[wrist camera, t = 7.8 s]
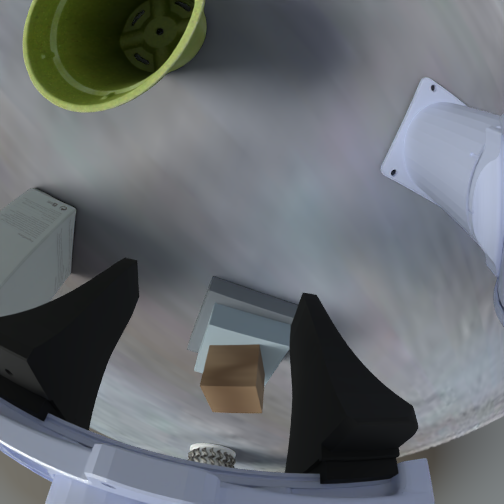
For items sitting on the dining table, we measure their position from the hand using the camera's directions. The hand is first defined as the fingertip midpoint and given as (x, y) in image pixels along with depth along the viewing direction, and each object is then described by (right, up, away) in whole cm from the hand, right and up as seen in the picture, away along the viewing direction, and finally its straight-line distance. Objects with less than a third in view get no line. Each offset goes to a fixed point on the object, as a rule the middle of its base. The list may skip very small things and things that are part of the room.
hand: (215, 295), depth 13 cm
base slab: (+1, -4, +16) cm, 16 cm away
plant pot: (-4, +16, +3) cm, 17 cm away
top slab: (+1, -6, +14) cm, 15 cm away
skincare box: (-17, +4, +12) cm, 21 cm away
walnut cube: (0, -7, +11) cm, 13 cm away
